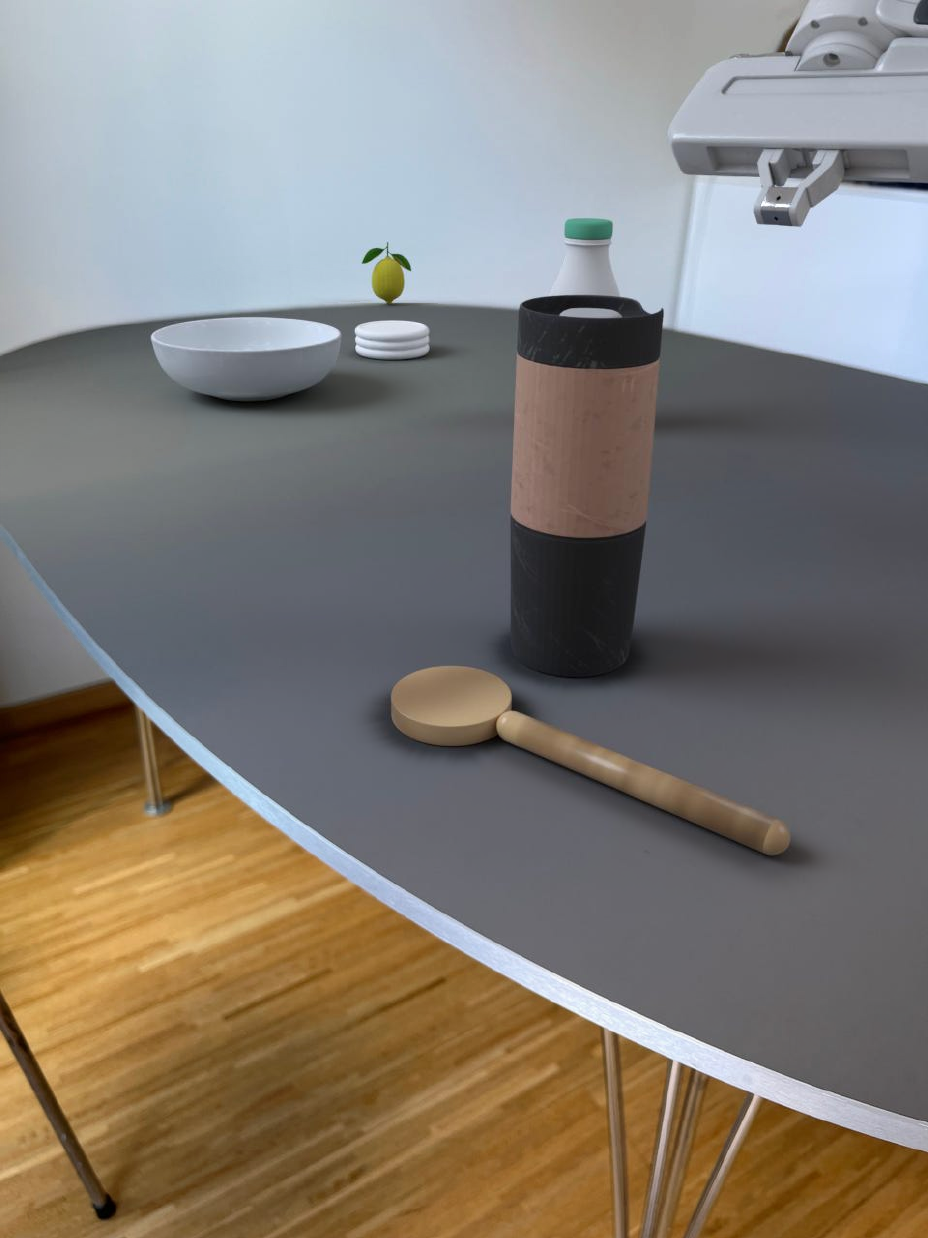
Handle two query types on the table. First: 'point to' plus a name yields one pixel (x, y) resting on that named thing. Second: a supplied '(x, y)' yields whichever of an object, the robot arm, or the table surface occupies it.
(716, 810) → the wooden spoon
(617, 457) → the travel mug
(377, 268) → the lemon
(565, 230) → the milk bottle
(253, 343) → the serving bowl
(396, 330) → the coaster
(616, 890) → the table surface
